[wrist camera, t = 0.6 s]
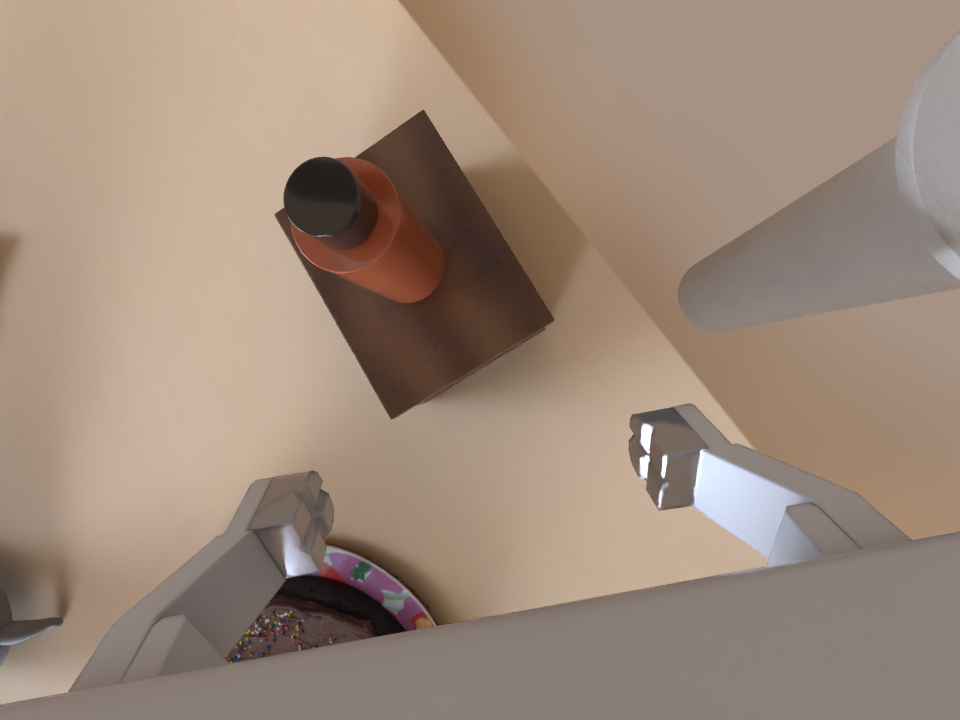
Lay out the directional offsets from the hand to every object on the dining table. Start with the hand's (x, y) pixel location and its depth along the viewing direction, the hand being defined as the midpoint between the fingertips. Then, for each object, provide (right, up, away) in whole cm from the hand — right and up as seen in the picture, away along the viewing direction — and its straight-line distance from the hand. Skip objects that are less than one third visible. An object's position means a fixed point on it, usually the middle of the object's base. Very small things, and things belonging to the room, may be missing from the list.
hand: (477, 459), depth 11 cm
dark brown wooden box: (-4, +9, +24) cm, 26 cm away
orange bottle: (-5, +9, +16) cm, 19 cm away
